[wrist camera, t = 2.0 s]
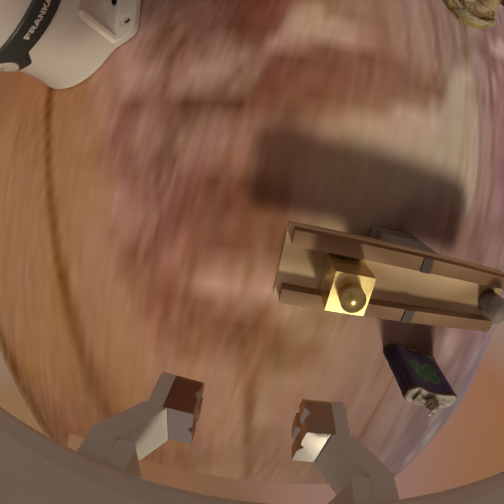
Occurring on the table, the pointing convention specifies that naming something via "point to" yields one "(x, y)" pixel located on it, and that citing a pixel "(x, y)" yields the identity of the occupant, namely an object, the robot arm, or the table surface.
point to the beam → (393, 277)
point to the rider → (346, 284)
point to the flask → (419, 378)
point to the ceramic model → (475, 12)
